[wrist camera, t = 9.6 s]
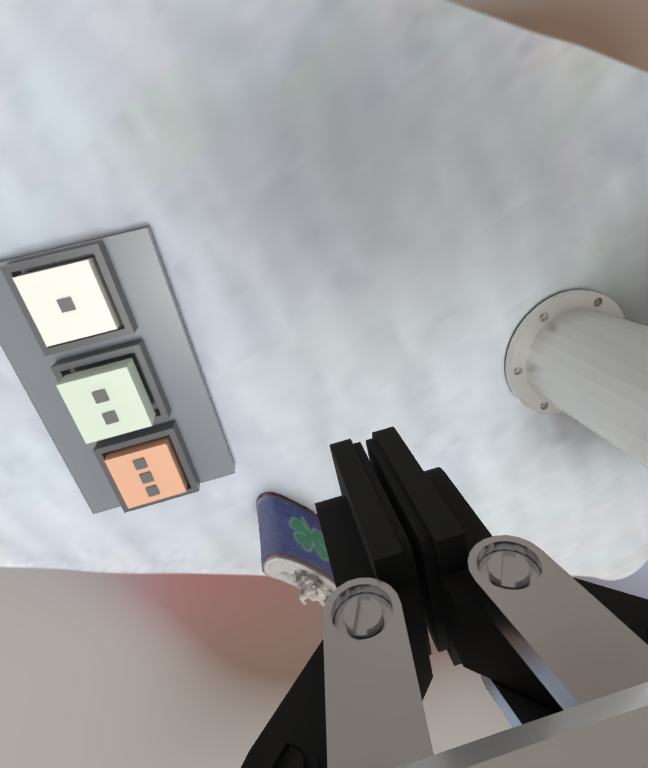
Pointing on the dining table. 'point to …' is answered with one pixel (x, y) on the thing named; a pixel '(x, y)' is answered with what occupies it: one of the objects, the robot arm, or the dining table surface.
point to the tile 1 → (69, 301)
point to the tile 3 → (147, 471)
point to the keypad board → (130, 340)
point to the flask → (294, 547)
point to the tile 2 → (107, 400)
